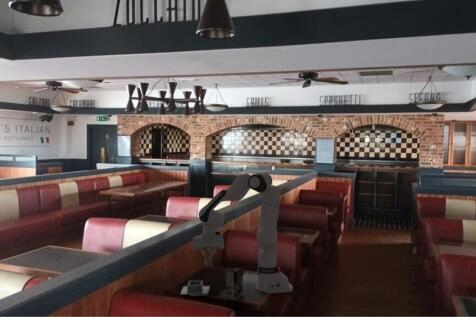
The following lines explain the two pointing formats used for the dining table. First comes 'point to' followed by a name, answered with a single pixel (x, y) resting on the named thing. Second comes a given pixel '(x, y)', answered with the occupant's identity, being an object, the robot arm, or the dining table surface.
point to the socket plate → (195, 289)
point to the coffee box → (234, 283)
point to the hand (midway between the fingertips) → (208, 254)
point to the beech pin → (208, 257)
